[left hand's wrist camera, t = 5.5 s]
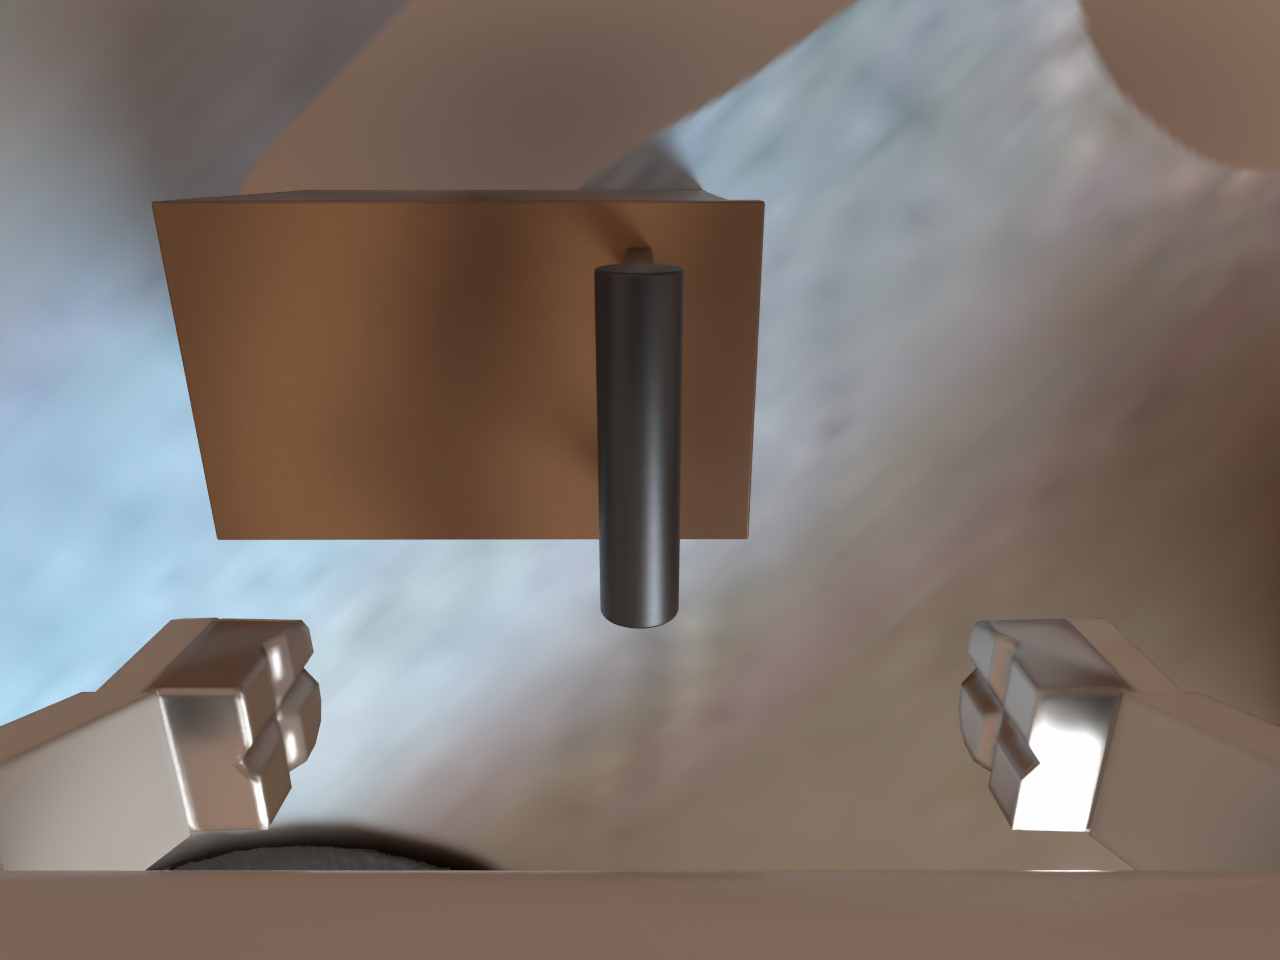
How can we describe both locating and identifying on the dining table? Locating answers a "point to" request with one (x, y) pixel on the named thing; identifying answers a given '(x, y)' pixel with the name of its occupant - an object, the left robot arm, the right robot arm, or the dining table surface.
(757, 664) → the dining table surface
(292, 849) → the round grey tray
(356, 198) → the chest
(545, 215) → the lid
